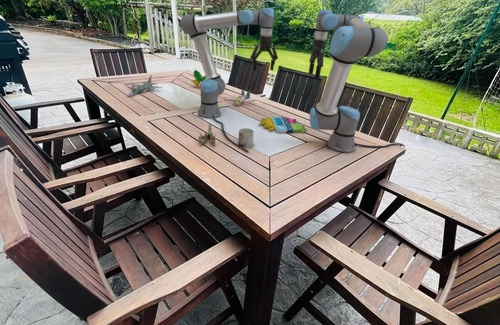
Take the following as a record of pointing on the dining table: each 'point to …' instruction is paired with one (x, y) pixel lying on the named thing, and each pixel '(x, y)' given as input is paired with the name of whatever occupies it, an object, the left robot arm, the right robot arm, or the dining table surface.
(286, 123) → the sign
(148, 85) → the airplane
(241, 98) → the toy
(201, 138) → the jawbone
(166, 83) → the dining table surface
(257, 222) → the dining table surface
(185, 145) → the dining table surface
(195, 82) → the ornament
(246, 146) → the tin
